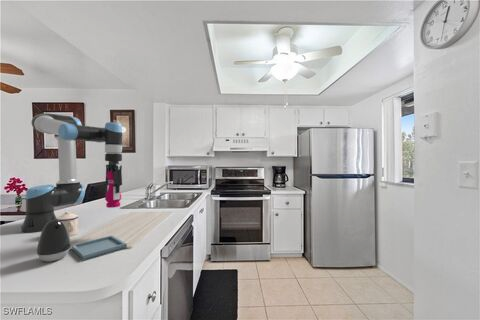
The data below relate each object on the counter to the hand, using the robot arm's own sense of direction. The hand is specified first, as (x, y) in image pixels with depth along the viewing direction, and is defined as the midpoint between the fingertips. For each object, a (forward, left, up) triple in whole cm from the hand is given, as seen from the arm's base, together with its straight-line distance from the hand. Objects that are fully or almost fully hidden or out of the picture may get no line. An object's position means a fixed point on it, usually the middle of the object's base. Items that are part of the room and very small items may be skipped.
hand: (113, 198), depth 115 cm
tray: (+14, -11, -19) cm, 26 cm away
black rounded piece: (+11, -26, -19) cm, 34 cm away
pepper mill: (0, 0, -4) cm, 4 cm away
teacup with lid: (-17, -15, -19) cm, 30 cm away
